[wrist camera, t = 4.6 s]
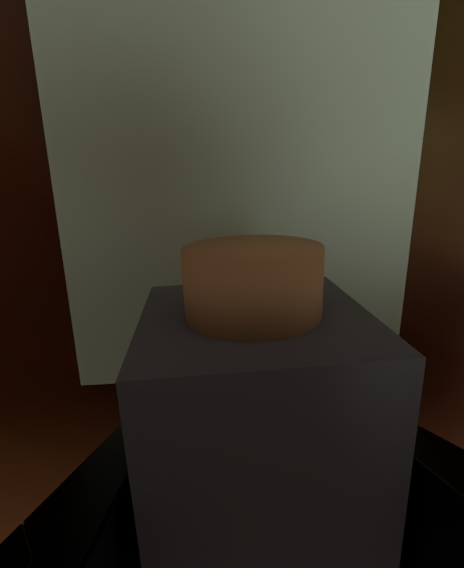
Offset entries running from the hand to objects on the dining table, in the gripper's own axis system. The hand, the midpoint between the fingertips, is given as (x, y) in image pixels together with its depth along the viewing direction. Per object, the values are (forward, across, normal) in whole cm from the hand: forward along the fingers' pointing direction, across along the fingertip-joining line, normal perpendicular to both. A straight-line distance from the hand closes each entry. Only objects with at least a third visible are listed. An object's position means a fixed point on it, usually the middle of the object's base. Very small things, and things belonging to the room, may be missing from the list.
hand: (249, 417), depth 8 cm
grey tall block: (+1, 0, +4) cm, 4 cm away
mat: (+3, 0, -5) cm, 5 cm away
